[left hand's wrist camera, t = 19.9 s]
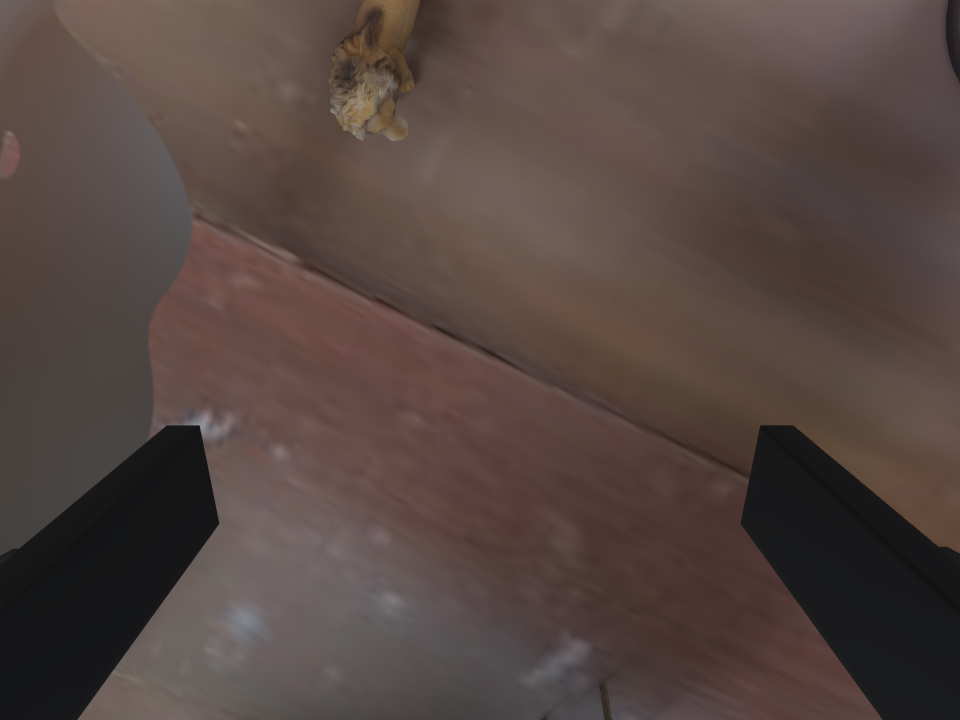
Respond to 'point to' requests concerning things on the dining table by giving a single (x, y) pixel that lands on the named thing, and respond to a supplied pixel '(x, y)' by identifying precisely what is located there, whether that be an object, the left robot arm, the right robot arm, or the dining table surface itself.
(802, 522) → the left robot arm
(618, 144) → the dining table surface
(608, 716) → the miniature windmill
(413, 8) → the lion figurine
